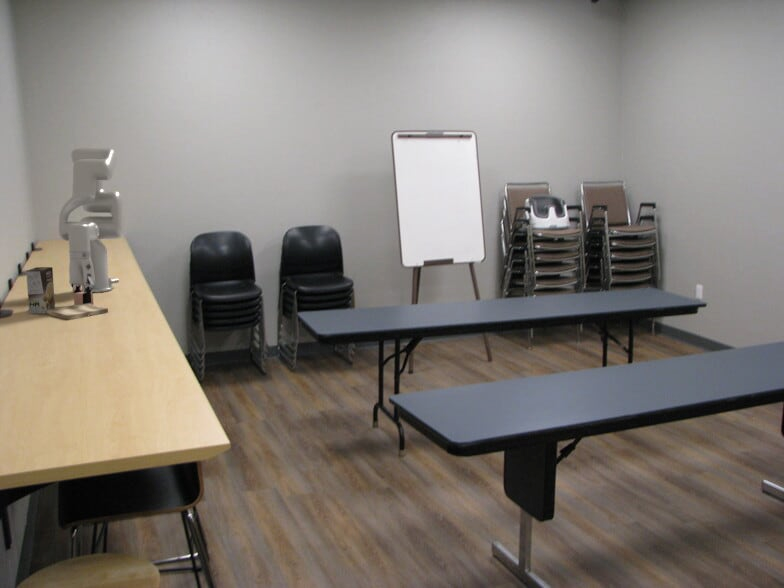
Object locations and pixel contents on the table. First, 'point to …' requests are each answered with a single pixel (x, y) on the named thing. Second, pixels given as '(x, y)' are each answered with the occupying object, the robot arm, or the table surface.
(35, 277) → the coffee box
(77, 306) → the birch board
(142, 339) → the table surface
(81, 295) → the coral cube
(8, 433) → the table surface
